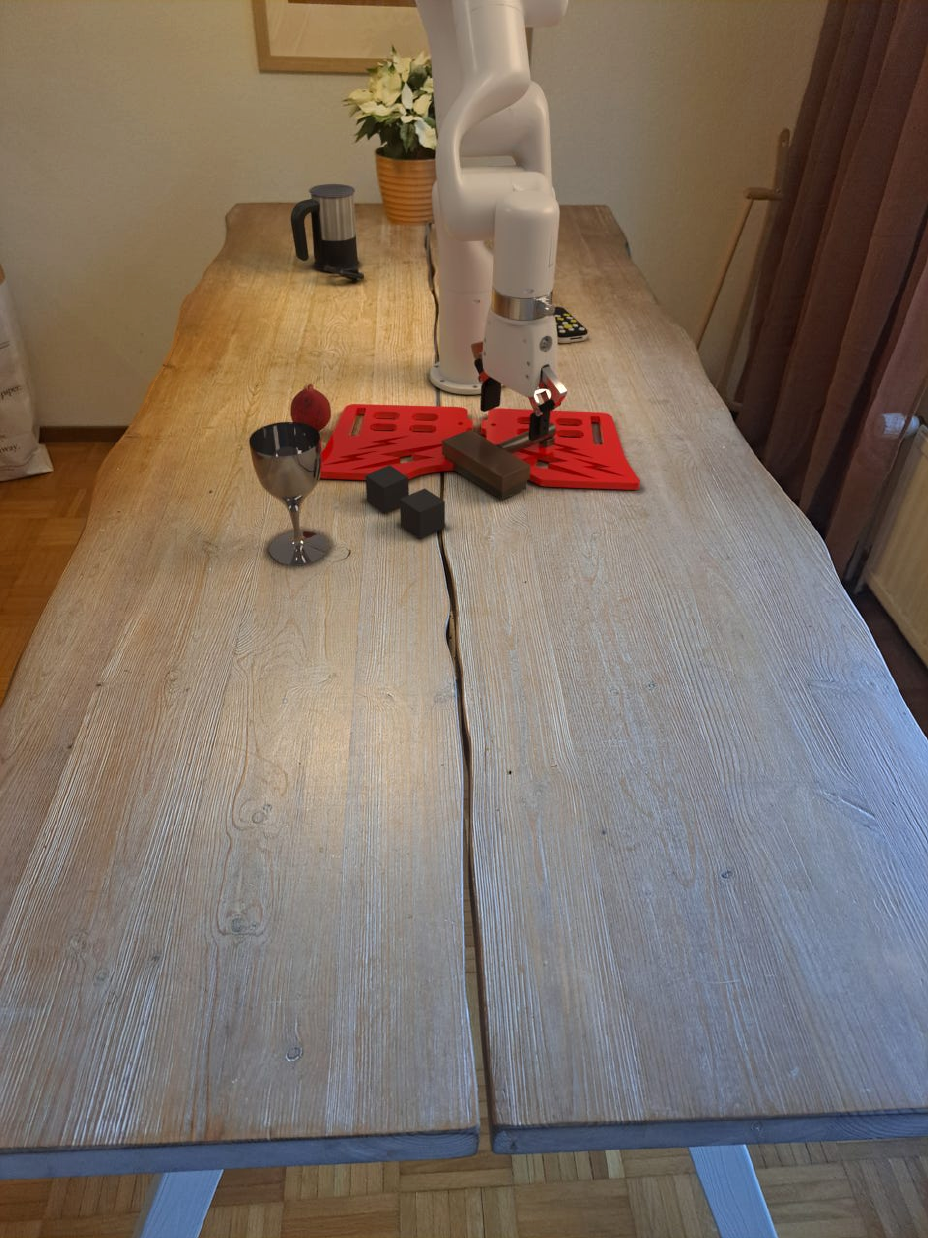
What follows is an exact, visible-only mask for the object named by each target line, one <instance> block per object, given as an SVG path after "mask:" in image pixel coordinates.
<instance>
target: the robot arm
mask: <svg viewBox="0 0 928 1238" xmlns="http://www.w3.org/2000/svg"><path fill="white" fill-rule="evenodd" d="M414 2H415V5H416V9H417V11H418V15H419V17H420V20H421V23H422V25H423V28H424V31H425V34H426V38H427V41H428V42H427V43H428V45H429V52H430V61H431V62H430V63H431V78H432V88H433V102H434V104H433V105H434V115H435V125H436V126H435V127H436V133H437V140H436V146H435V157H434V158H435V161H434V162H435V163H434V165H435V166H434V167H435V176H436V177H435V181H434V183H433V185H432V190H431V205H432V206H431V208H432V215H433V221H434V228H435V235H436V245H437V259H438V260H437V261H438V263H437V264H438V355H439V356H438V361H437V362H436V363H434V364H433V365H432V366H431V368H430V369H429V380H430V382H431V383H432V384H433V385H434V386H435V387H437V388H438V389H440V390H442V391H444V392H448V393H451V394H457V395H480V407H479V409H480V410H479V411H481V412H482V413H487V412H489V410H491V409H496V408H500V406H501V395H502V387H503V386H505V387H507V388H509V389H511V390H512V391H514V392H516V393H517V394H519V395H521V396H522V397H526V398H527V399H528V401H529V403H530V406H531V410H533V411H534V413H531V415H530V422H529V423H528V424H529V435H528V438H529V440H530V441H532V442H533V441H535V440H537V439H540V438H542V437H544V436H546V435H547V434H548V432H549V422H550V412H551V411H555V410H556V409H557V408H559V407H560V406H561V405H562V403H563V401H564V400H565V398H566V397H567V395H568V390H567V388H566V387H565V385H564V384H563V382H561V380H560V378H558V363H559V362H558V358H559V357H558V355H559V348H558V347H559V346H558V345H559V343H558V341H557V328H556V321H555V317H554V316H552V315H553V314H554V312H555V307H556V306H554V305H553V296H554V295H553V293H554V283H555V273H556V263H557V261H556V260H557V252H558V251H557V249H558V240H559V229H560V217H561V216H560V214H561V211H560V209H561V208H560V204H559V203H558V201H557V199H556V192H555V188H554V186H553V172H552V171H553V170H552V145H551V144H552V143H551V122H550V111H549V110H550V109H549V104H548V100H547V97H546V94H545V91H544V90H543V89H542V87H541V86H540V85H539V84H538V83H537V82H536V81H534V80H531V79H532V77H531V68H530V60H529V53H528V52H529V51H528V44H527V43H528V42H527V35H526V34H527V33H526V28H528V29H529V28H552V27H556V26H557V25H558V24H559V23H560V22H561V21H562V20H563V19H564V17H565V15H566V14H567V13H566V12H567V9H568V6H569V0H414ZM507 156H508V157H511V158H512V159H513V160H514V163H515V164H513V165H481V166H464V167H461V161H460V160H461V159H460V158H481V157H507ZM486 241H493V252H492V251H491V249H490V248H489V247H488V245H486ZM539 395H540V396H541V399H542V401H543V403H540V400H539V397H538V396H539Z"/></svg>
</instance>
